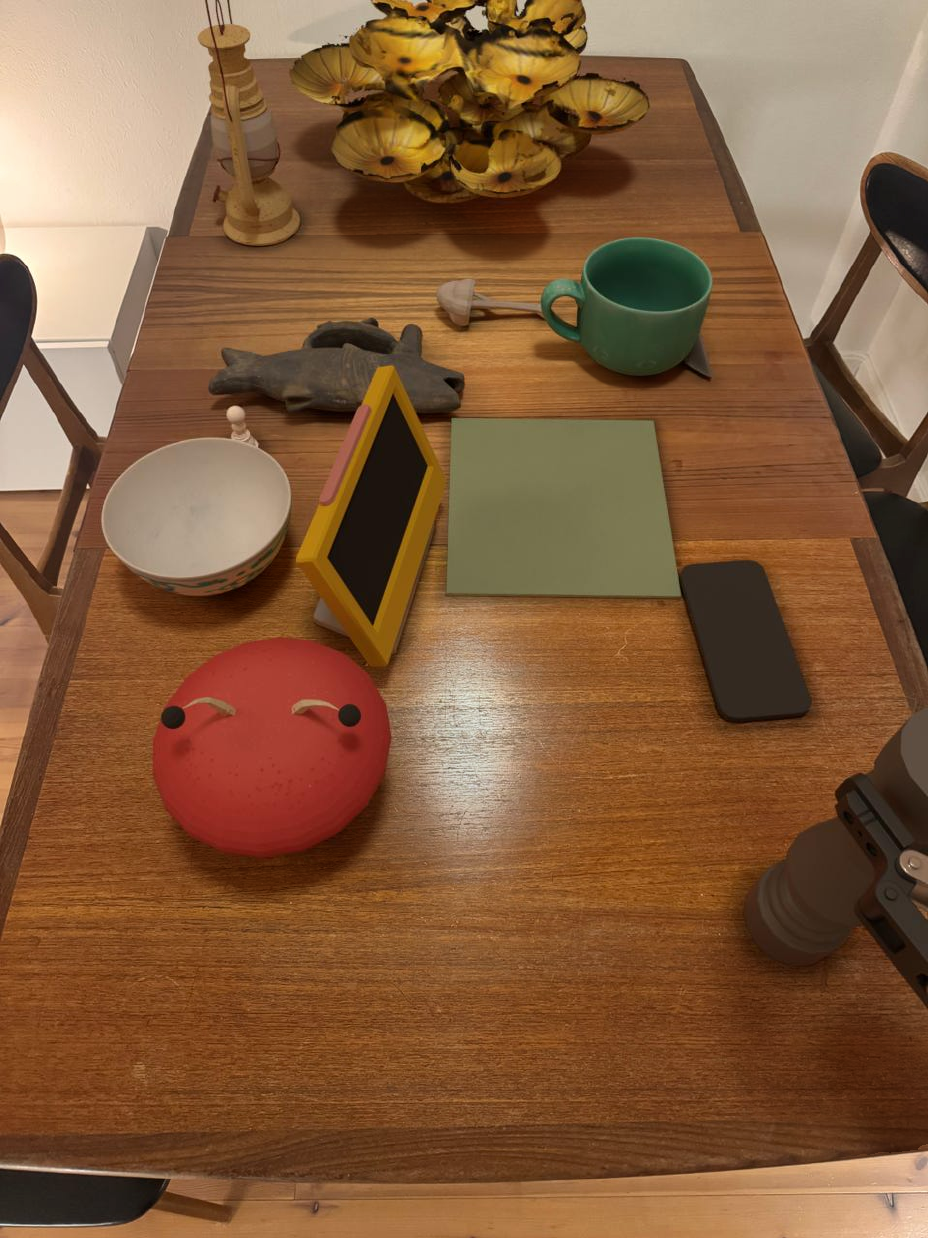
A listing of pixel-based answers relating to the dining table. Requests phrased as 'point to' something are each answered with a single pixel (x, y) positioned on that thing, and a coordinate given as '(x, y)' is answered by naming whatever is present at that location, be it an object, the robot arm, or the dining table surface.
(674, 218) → the dining table surface
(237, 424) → the chess pawn
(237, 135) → the lantern
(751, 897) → the candle holder
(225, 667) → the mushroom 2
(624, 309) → the mug
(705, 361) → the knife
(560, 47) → the mushroom
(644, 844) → the dining table surface
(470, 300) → the mushroom
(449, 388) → the ceramic vessel
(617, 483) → the mat
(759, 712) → the phone
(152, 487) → the chinaware
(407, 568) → the yellow framed monitor
